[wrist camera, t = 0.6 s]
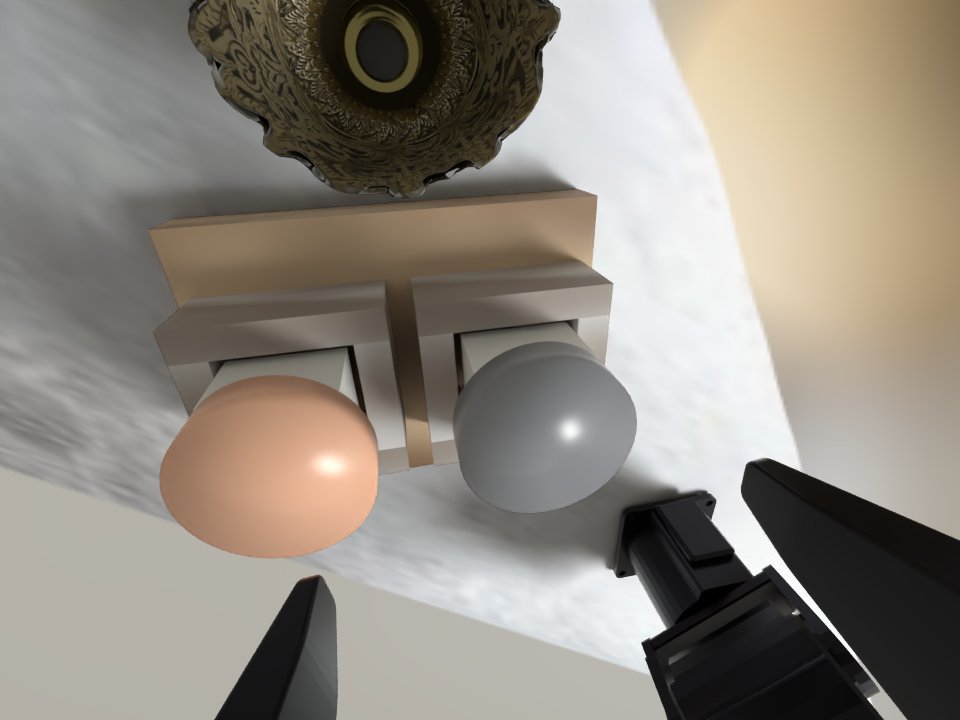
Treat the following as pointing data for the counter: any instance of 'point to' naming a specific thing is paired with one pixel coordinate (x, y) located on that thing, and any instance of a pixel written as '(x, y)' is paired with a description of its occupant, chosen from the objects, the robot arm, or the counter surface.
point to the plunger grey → (538, 418)
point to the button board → (381, 297)
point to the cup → (378, 82)
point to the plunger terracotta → (274, 457)
